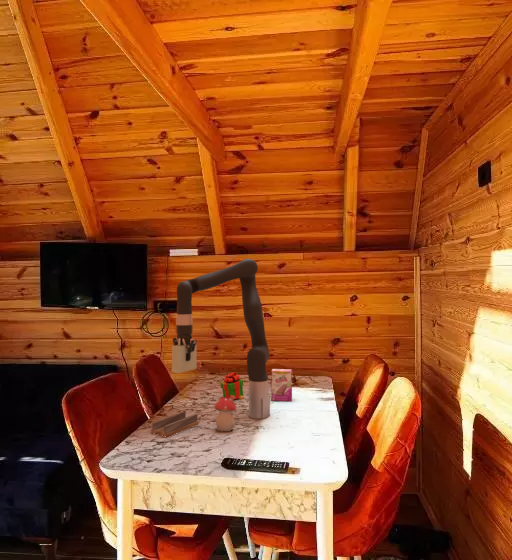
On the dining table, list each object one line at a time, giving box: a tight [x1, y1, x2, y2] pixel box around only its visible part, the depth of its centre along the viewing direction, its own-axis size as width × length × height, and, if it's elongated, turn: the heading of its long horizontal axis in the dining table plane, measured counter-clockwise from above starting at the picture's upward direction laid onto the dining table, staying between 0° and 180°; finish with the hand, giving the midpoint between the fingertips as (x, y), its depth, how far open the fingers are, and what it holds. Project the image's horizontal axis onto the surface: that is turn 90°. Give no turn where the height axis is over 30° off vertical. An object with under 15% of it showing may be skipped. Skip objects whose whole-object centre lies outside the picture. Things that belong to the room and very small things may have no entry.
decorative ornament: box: [214, 395, 237, 432], centre depth 179 cm, size 9×7×15 cm
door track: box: [150, 410, 200, 438], centre depth 181 cm, size 10×19×4 cm, turn 146°
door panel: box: [171, 345, 197, 374], centre depth 194 cm, size 4×12×12 cm, turn 145°
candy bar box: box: [270, 368, 293, 402], centre depth 224 cm, size 11×5×16 cm, turn 84°
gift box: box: [219, 372, 249, 401], centre depth 227 cm, size 20×19×14 cm
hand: (184, 360), depth 194 cm, fingers closed on door panel, 4 cm apart
